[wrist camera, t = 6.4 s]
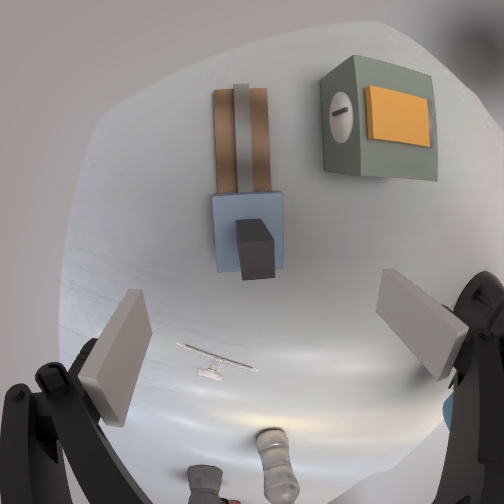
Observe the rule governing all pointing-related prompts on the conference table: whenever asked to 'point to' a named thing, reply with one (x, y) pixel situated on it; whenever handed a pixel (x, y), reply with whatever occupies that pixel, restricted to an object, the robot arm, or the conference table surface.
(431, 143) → the orange slab
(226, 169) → the rail
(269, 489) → the plastic bottle
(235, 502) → the soda can
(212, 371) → the picture light
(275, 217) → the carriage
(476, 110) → the conference table surface
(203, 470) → the coffeepot
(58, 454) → the robot arm
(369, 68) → the gauge cabinet
